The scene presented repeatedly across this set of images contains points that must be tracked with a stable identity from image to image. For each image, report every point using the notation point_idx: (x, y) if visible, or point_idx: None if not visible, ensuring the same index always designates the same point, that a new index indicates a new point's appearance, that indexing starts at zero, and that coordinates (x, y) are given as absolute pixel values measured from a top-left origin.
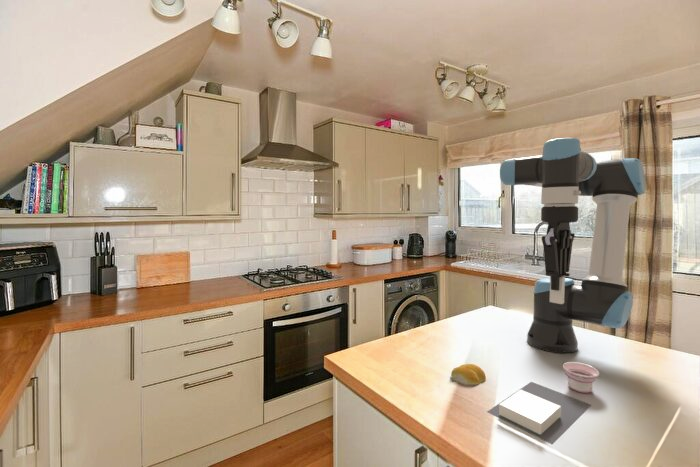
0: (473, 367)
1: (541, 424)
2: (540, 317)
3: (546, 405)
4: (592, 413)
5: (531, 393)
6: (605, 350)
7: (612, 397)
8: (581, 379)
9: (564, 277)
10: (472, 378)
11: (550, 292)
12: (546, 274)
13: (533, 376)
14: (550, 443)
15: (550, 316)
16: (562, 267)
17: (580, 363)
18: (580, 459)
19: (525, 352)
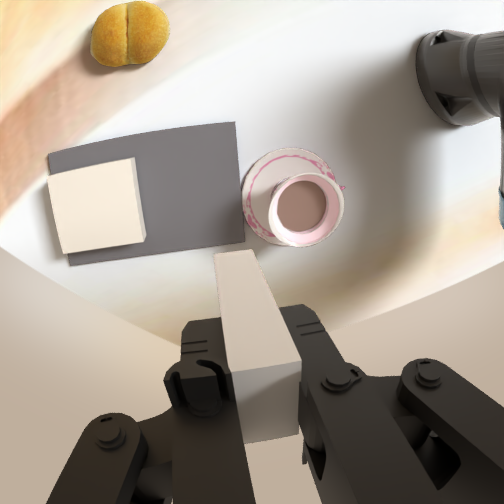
0: (134, 31)
1: (65, 253)
2: (475, 53)
3: (120, 225)
4: (223, 250)
5: (182, 152)
6: (484, 163)
7: (315, 244)
8: (278, 220)
9: (288, 431)
10: (103, 58)
11: (218, 286)
12: (171, 378)
13: (275, 106)
14: (70, 263)
15: (485, 76)
16: (324, 491)
17: (339, 196)
18: (86, 296)
19: (378, 45)
